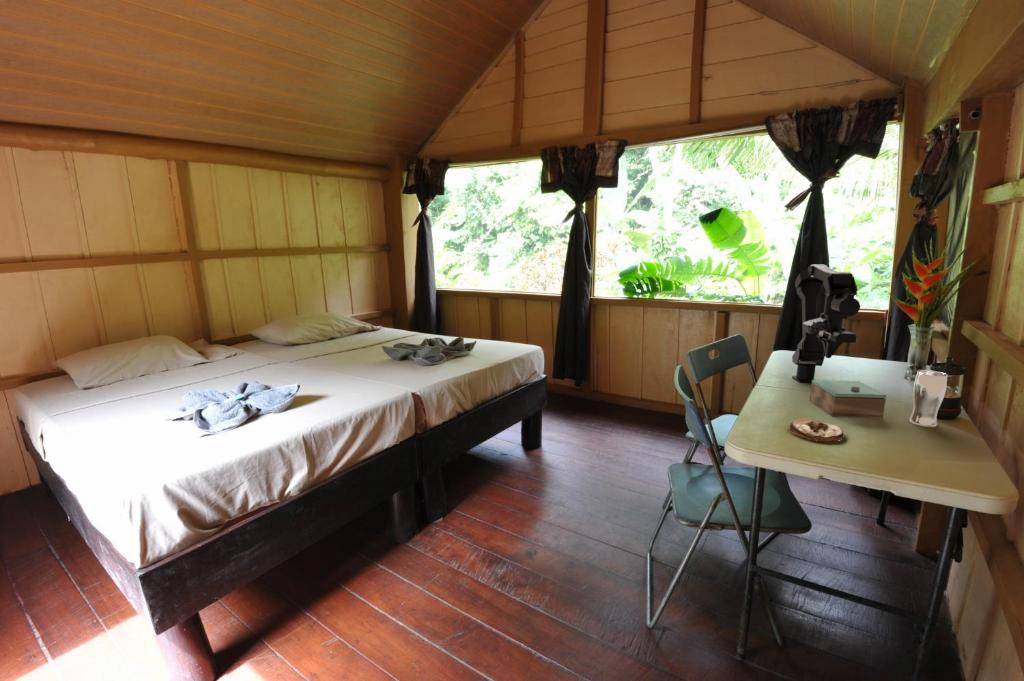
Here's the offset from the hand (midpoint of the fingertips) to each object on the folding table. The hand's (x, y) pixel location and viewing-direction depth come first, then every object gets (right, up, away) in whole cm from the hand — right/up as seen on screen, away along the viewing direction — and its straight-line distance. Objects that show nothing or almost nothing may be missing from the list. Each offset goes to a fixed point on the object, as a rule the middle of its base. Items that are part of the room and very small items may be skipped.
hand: (827, 357), depth 161 cm
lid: (-1, -10, -11) cm, 15 cm away
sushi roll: (-21, -20, -27) cm, 40 cm away
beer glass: (+14, -18, -21) cm, 31 cm away
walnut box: (-1, -16, -10) cm, 18 cm away
